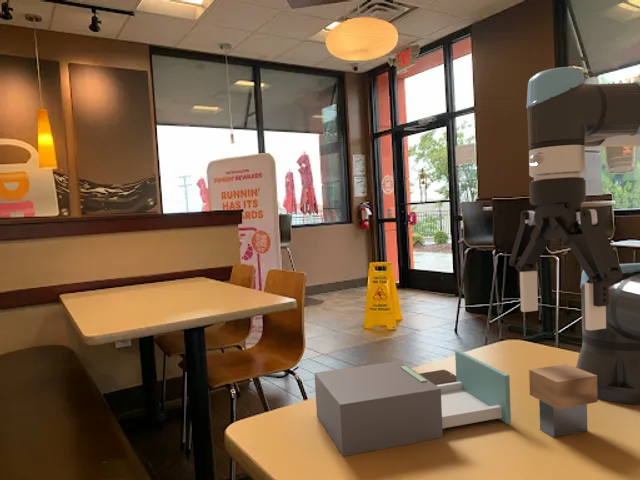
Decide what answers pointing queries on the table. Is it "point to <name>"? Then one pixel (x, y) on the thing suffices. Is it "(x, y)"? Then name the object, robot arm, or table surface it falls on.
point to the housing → (377, 407)
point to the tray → (475, 393)
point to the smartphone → (439, 377)
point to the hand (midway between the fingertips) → (559, 319)
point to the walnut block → (563, 386)
